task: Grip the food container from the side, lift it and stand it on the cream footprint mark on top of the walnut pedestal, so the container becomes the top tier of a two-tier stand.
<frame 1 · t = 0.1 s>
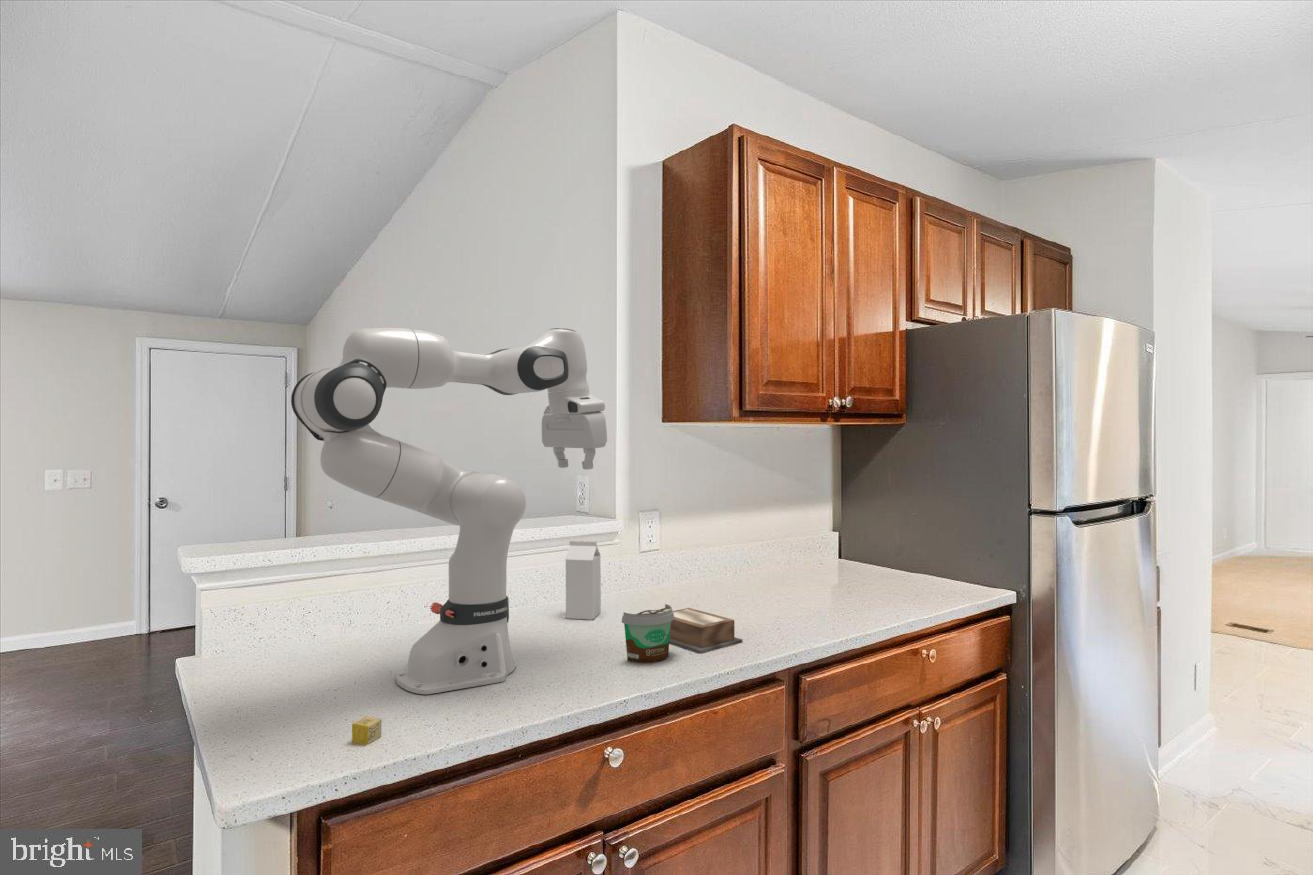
hand: (575, 468, 161), 39 cm above the counter, tool pointing down, fingers open, 8 cm apart
walnut pedestal: (694, 639, 167), on the counter
food container: (654, 660, 153), on the counter
milk carton: (583, 616, 189), on the counter
alphabet block: (366, 741, 114), on the counter
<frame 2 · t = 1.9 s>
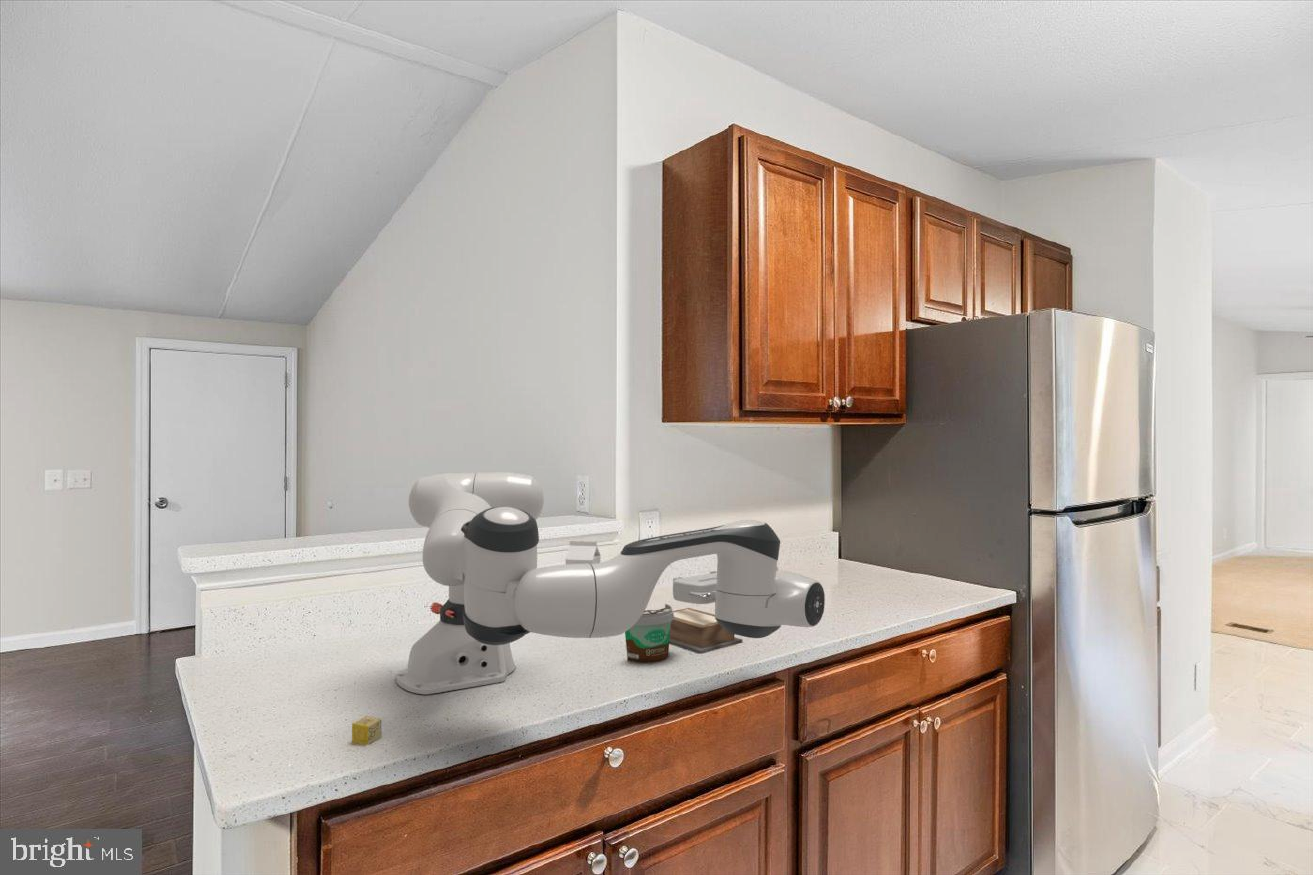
hand: (694, 578, 143), 18 cm above the counter, tool horizontal, fingers open, 8 cm apart
nothing on the counter moved.
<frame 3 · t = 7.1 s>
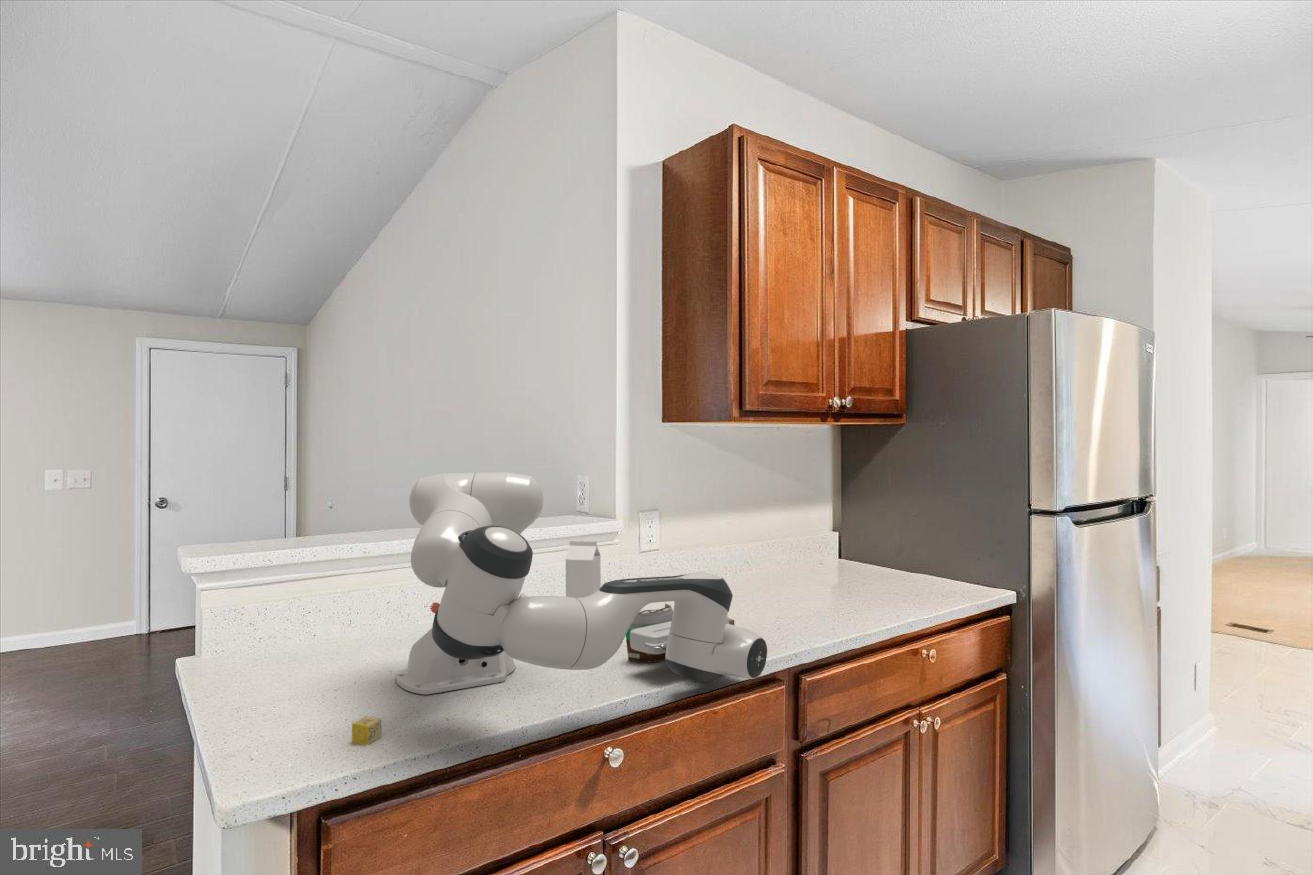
hand: (652, 625, 154), 7 cm above the counter, tool horizontal, fingers closed, pressing on food container
food container: (655, 659, 153), on the counter, touching gripper
everything else where it was.
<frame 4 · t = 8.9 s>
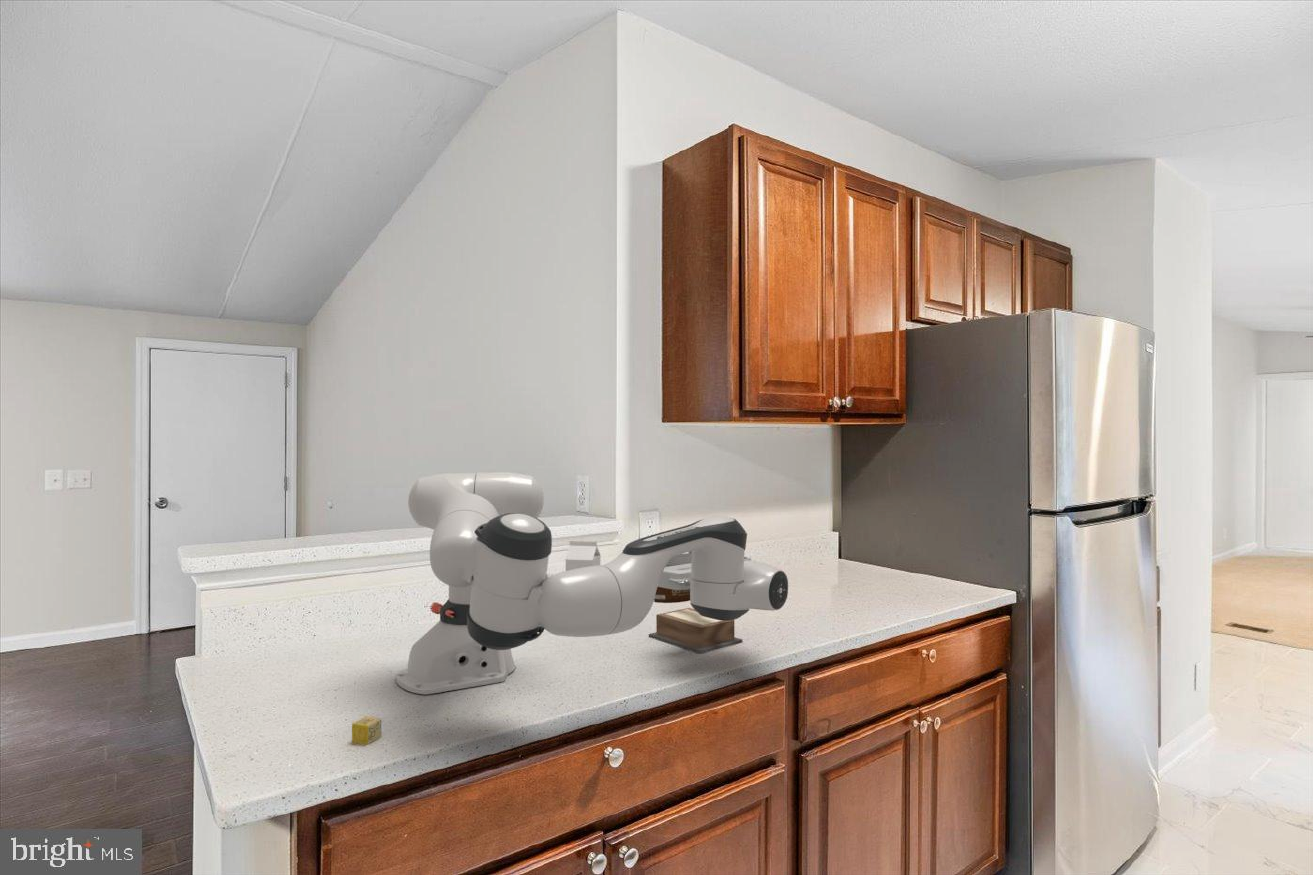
hand: (676, 568, 159), 18 cm above the counter, tool horizontal, fingers closed on food container
food container: (680, 601, 157), point 11 cm above the counter, touching gripper
everything else where it was.
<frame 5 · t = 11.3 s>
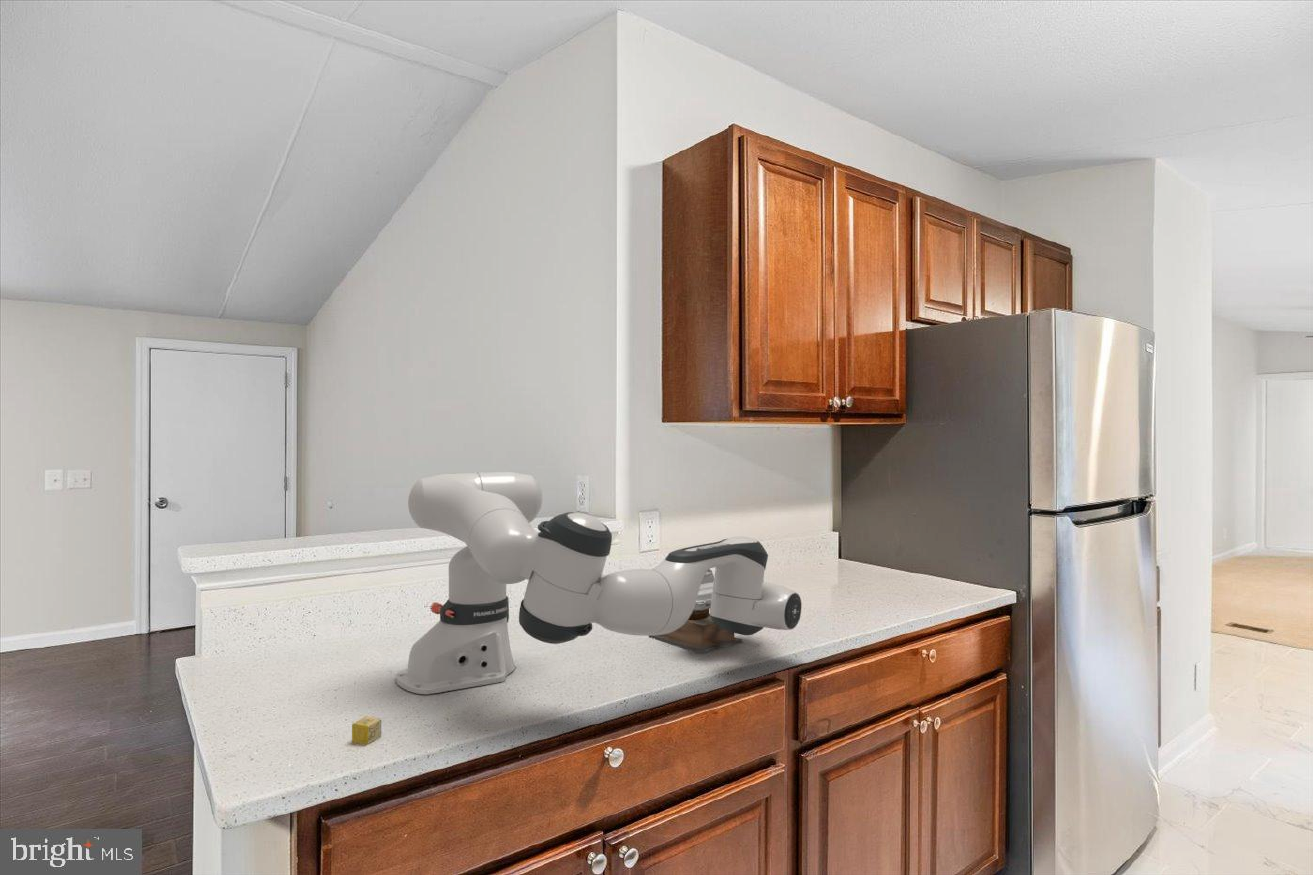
hand: (692, 587, 168), 12 cm above the counter, tool horizontal, fingers open, 3 cm apart
food container: (696, 618, 167), point 5 cm above the counter, touching gripper, walnut pedestal
everything else where it was.
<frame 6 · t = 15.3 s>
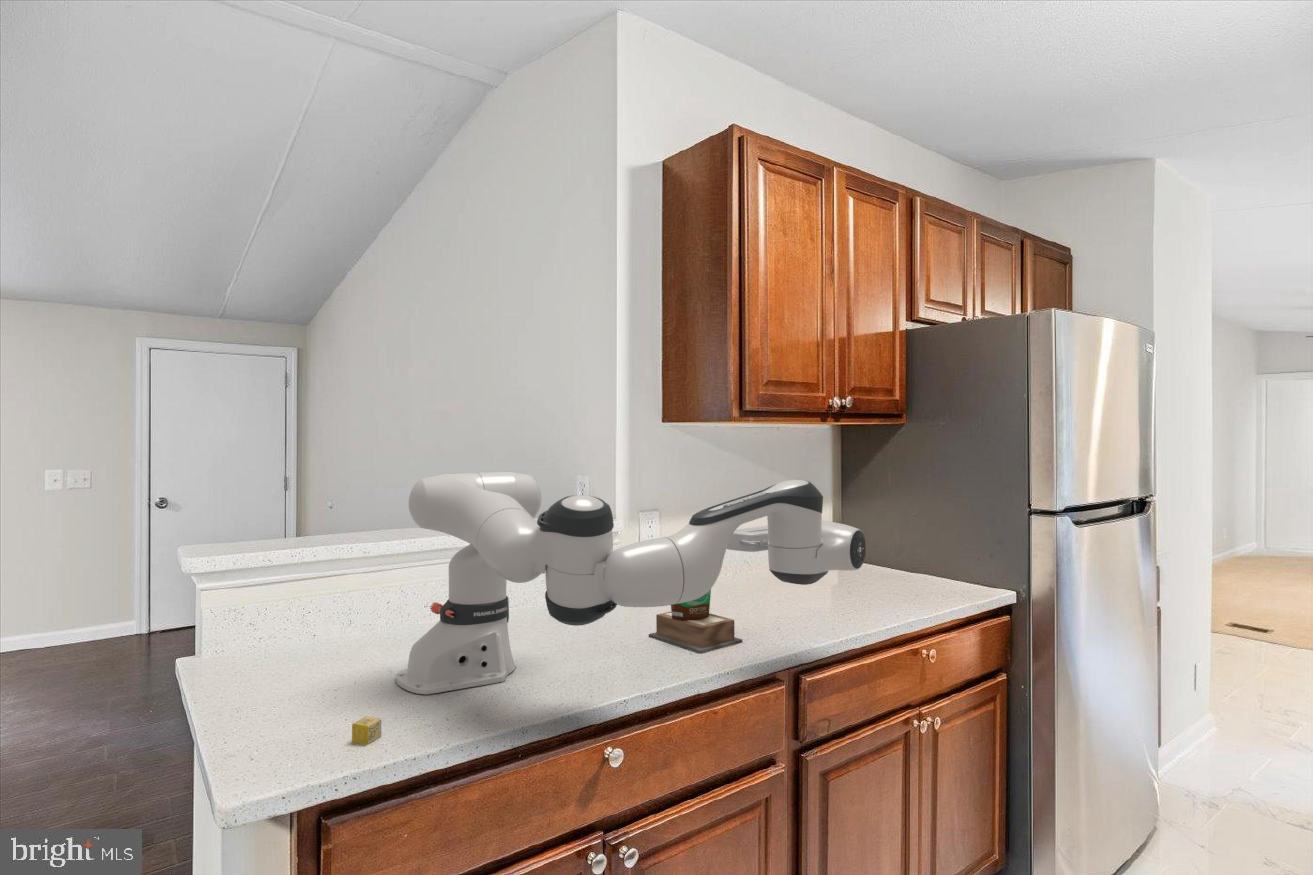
hand: (740, 532, 156), 25 cm above the counter, tool horizontal, fingers open, 8 cm apart
food container: (696, 618, 167), point 5 cm above the counter, touching walnut pedestal
everything else where it was.
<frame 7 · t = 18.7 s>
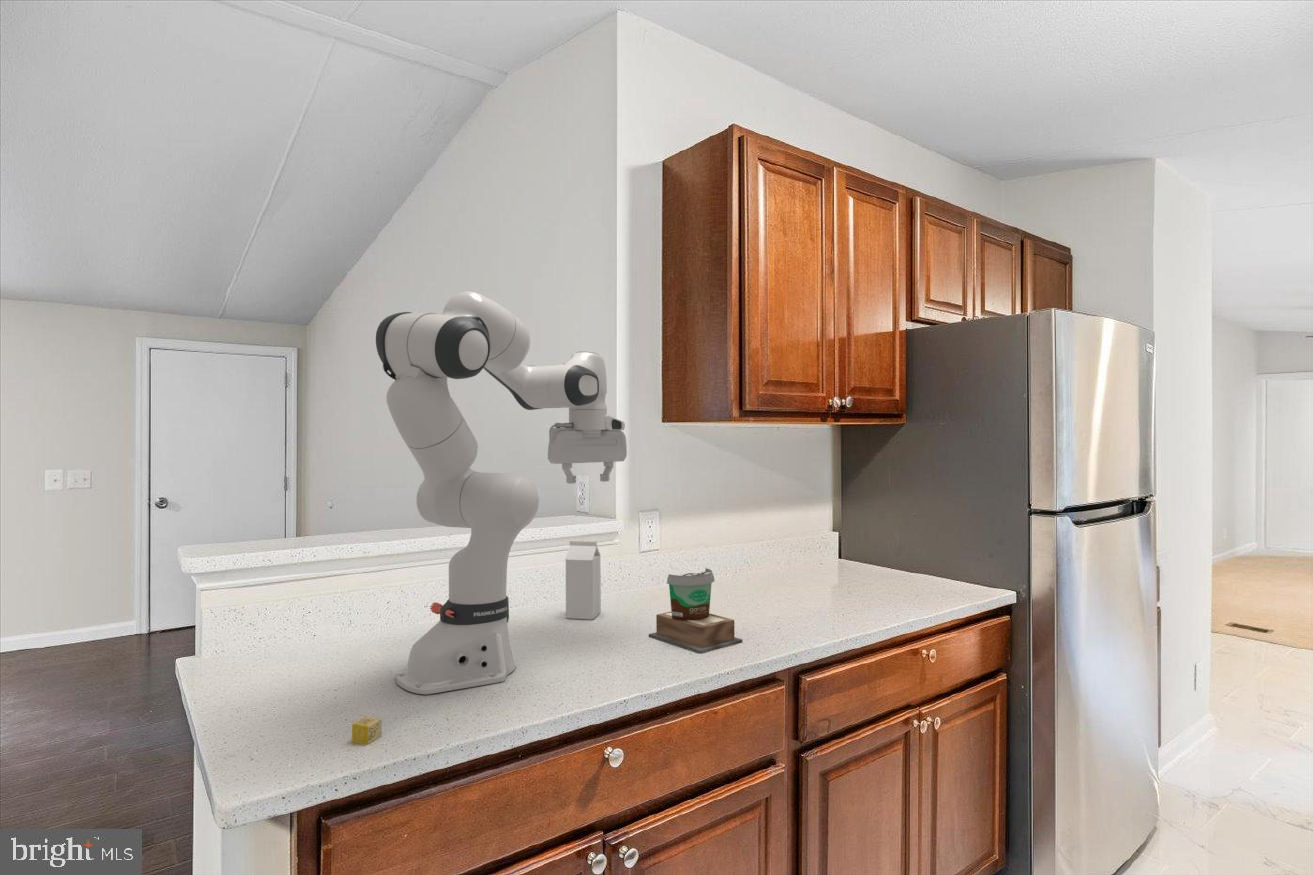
hand: (588, 482, 173), 35 cm above the counter, tool pointing down, fingers open, 8 cm apart
nothing on the counter moved.
at the end: food container inside the target area on the walnut pedestal (0.8 cm from its centre), point 4.9 cm above the walnut pedestal's base; food container tilted 0°; the gripper is holding nothing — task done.
